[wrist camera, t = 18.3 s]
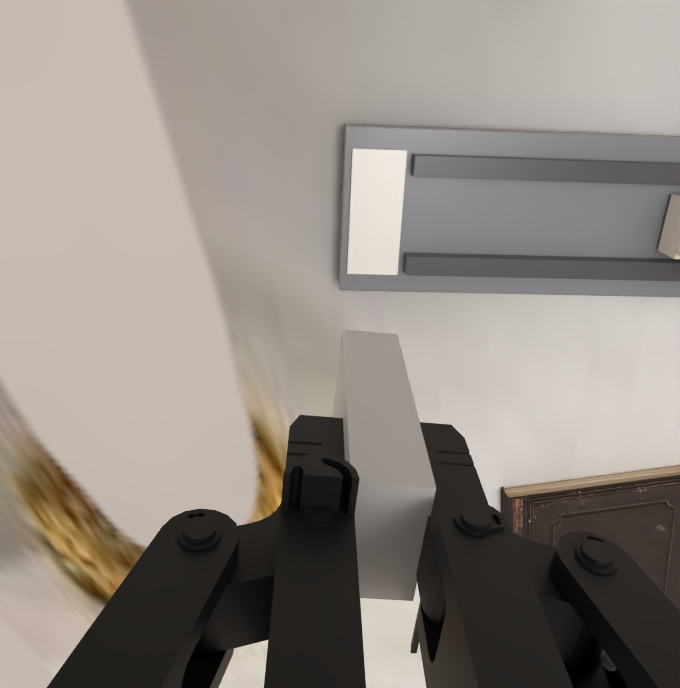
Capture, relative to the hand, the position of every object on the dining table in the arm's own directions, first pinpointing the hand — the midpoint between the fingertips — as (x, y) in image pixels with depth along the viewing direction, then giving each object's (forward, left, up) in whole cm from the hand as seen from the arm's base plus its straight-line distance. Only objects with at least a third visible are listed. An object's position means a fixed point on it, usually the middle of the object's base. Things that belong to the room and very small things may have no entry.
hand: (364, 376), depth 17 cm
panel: (0, +15, -25) cm, 29 cm away
